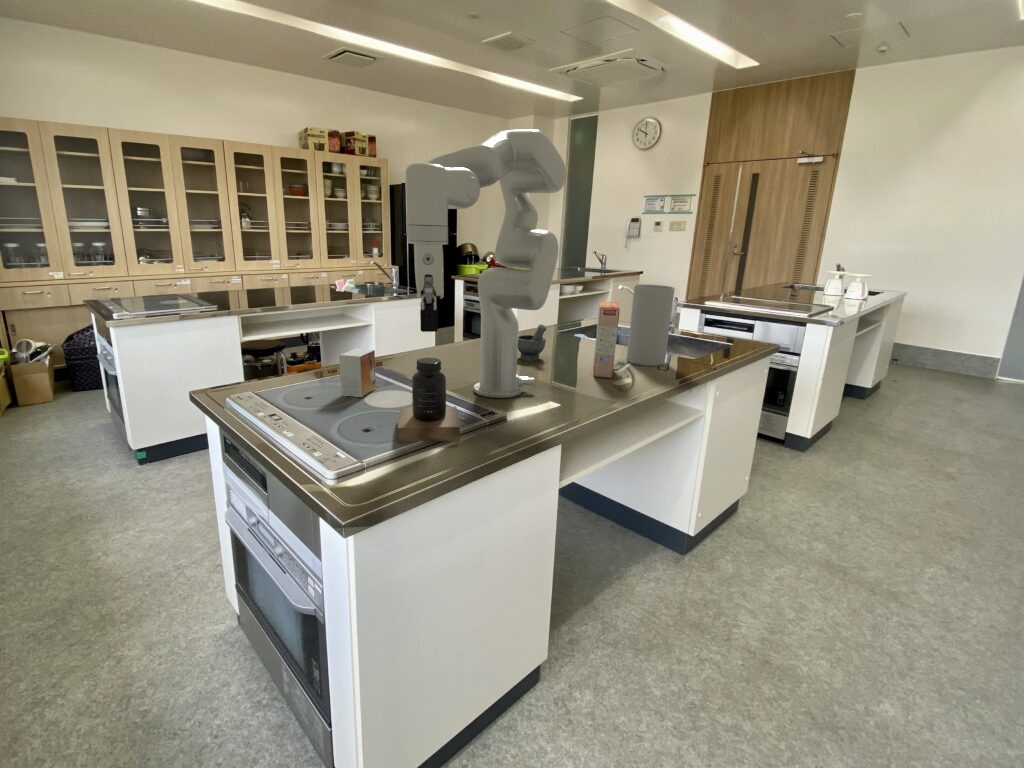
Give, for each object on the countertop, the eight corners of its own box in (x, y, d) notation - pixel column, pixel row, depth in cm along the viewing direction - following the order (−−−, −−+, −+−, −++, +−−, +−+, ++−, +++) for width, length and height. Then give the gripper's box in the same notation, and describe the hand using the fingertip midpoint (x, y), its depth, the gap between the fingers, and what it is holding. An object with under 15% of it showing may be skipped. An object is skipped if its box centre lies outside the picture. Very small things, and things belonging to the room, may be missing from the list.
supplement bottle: (414, 410, 109) (413, 355, 106) (446, 410, 110) (446, 356, 106) (410, 422, 103) (410, 364, 99) (445, 422, 103) (445, 364, 100)
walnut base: (456, 419, 114) (456, 406, 113) (459, 440, 102) (459, 426, 101) (400, 420, 112) (400, 407, 111) (397, 442, 100) (397, 428, 99)
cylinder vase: (627, 365, 166) (636, 287, 159) (625, 356, 178) (632, 283, 171) (667, 368, 165) (677, 289, 158) (661, 359, 177) (671, 285, 170)
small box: (362, 398, 124) (360, 356, 121) (340, 396, 125) (338, 354, 122) (376, 389, 132) (375, 349, 129) (356, 387, 133) (354, 347, 130)
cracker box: (613, 379, 150) (620, 307, 144) (592, 377, 151) (599, 306, 145) (612, 367, 163) (618, 301, 157) (593, 365, 164) (598, 300, 158)
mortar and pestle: (509, 357, 171) (510, 321, 168) (529, 353, 177) (531, 318, 174) (532, 364, 163) (534, 326, 160) (553, 360, 169) (555, 324, 166)
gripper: (450, 238, 88) (450, 335, 93) (446, 234, 104) (446, 318, 110) (405, 236, 87) (408, 335, 92) (408, 233, 103) (410, 318, 108)
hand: (429, 326), depth 101 cm, fingers open, 9 cm apart
